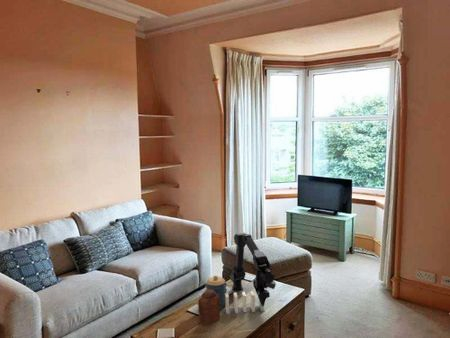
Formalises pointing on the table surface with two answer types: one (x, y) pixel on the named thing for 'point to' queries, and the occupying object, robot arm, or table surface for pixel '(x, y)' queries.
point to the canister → (217, 288)
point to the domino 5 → (261, 306)
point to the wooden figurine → (209, 307)
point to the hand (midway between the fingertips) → (261, 302)
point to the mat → (241, 310)
